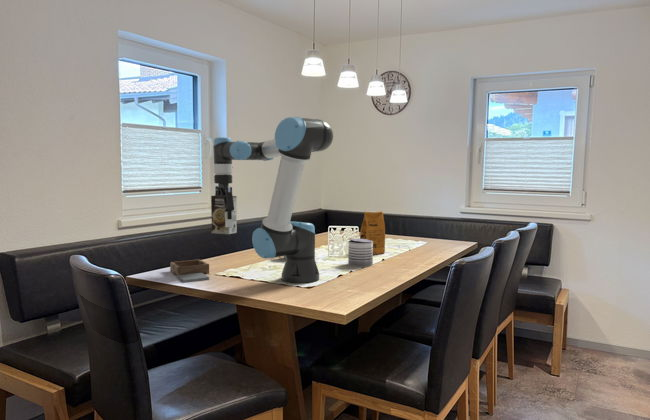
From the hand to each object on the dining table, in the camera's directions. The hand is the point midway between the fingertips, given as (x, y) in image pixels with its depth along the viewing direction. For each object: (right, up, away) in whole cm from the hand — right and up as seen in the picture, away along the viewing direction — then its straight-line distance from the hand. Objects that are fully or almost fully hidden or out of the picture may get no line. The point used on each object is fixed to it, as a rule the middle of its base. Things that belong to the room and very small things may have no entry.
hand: (224, 225), depth 208 cm
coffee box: (0, -3, 0) cm, 3 cm away
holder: (-15, -20, -1) cm, 25 cm away
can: (+60, -19, +17) cm, 65 cm away
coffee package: (+68, -16, +47) cm, 85 cm away
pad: (-10, -21, -13) cm, 26 cm away
